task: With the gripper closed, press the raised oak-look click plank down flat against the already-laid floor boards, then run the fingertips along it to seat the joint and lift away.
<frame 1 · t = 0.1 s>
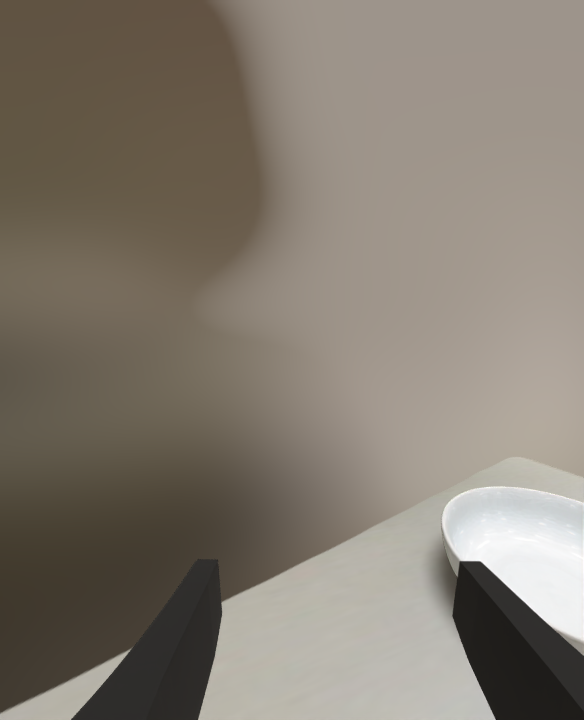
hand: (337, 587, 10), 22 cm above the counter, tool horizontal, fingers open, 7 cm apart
serving bowl: (552, 608, 32), on the counter
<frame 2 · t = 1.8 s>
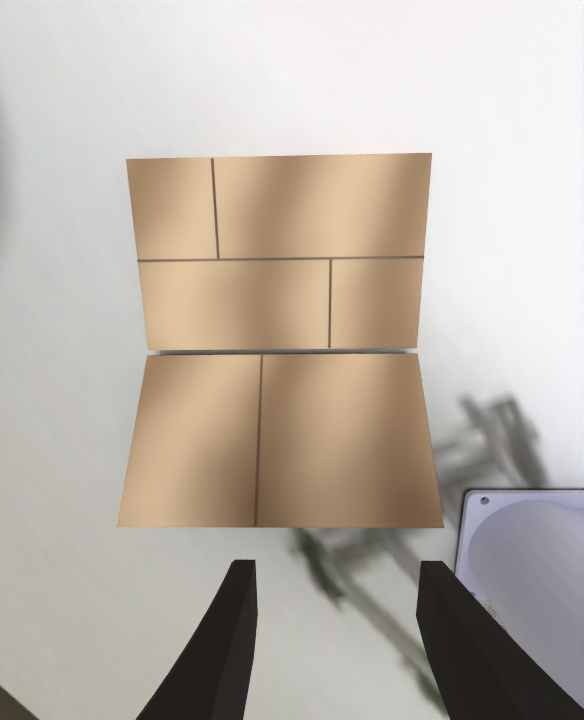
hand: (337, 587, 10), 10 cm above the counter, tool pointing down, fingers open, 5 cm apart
click plank: (280, 434, 16), point 3 cm above the counter, hinge at 35.0°
laid floor boards: (280, 260, 17), on the counter
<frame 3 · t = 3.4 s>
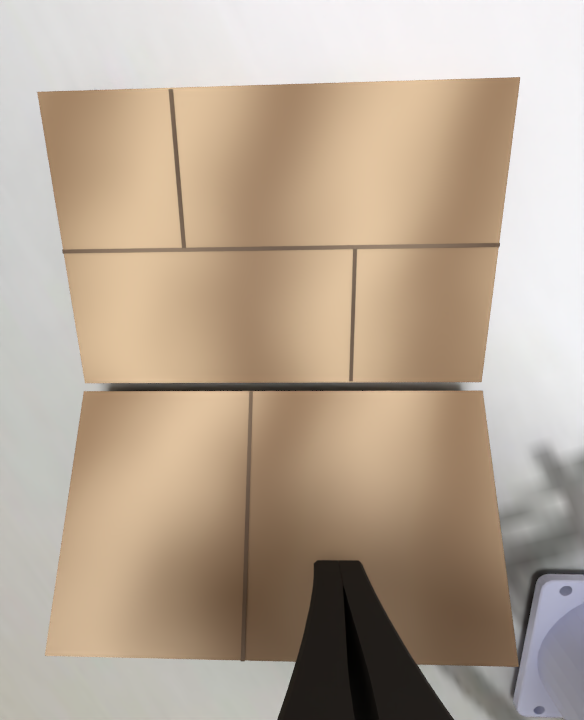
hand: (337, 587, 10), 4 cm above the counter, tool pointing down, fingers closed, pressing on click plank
click plank: (279, 510, 11), point 3 cm above the counter, hinge at 26.1°, touching gripper
laid floor boards: (279, 251, 12), on the counter
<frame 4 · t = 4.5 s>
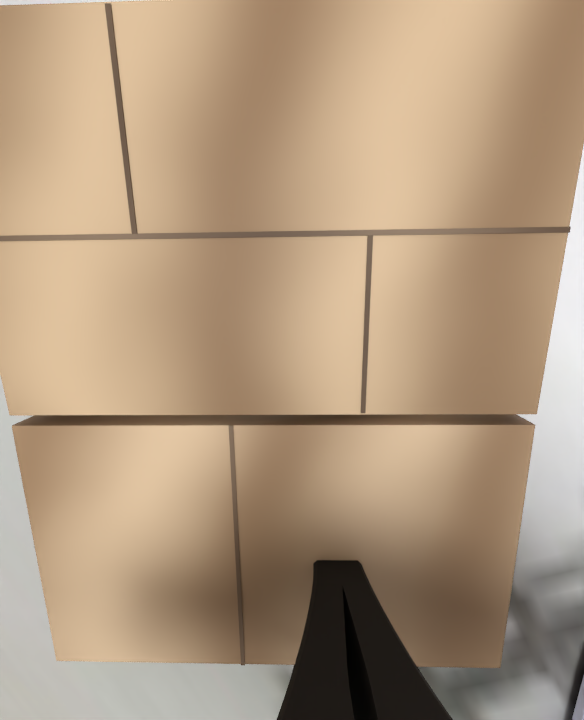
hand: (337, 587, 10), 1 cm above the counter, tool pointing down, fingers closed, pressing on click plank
click plank: (273, 539, 10), point 1 cm above the counter, hinge at 2.1°, touching gripper
laid floor boards: (267, 241, 9), on the counter
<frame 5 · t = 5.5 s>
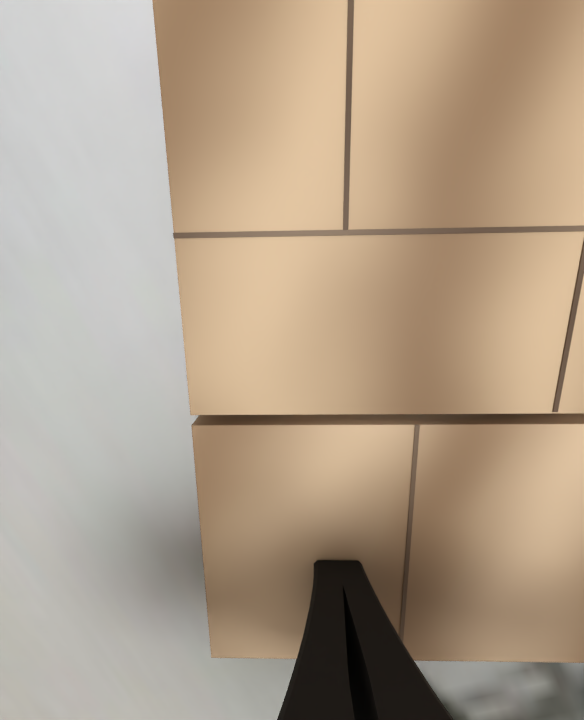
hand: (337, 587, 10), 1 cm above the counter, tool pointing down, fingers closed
click plank: (434, 538, 10), point 1 cm above the counter, hinge at 0.9°
laid floor boards: (452, 237, 9), on the counter
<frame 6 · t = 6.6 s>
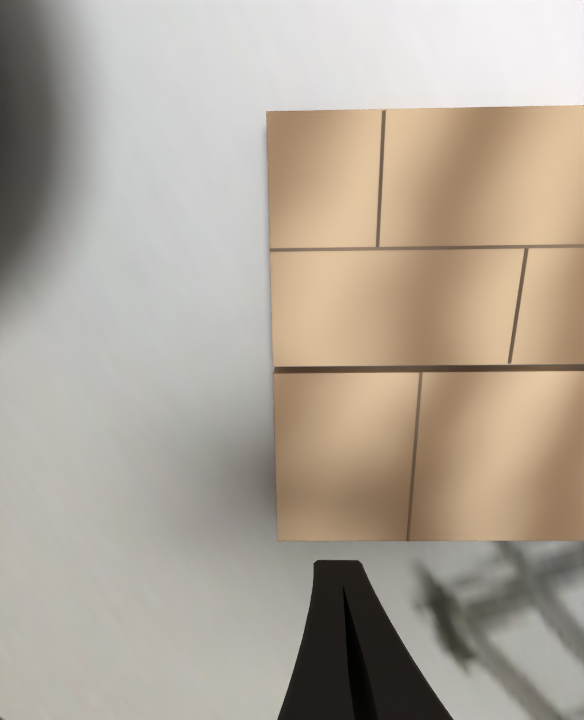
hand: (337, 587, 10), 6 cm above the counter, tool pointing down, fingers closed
click plank: (431, 454, 15), point 1 cm above the counter, hinge at 0.9°
laid floor boards: (444, 250, 13), on the counter
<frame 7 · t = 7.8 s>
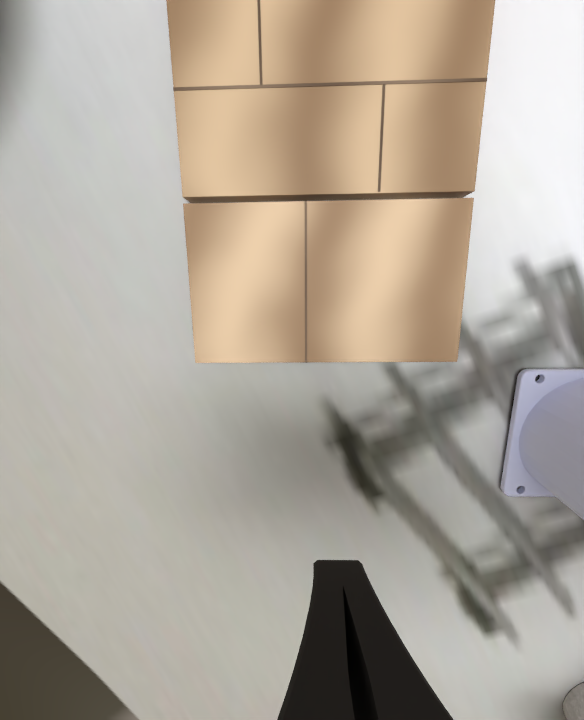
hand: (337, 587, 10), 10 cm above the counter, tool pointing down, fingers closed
click plank: (324, 285, 17), point 1 cm above the counter, hinge at 0.9°
laid floor boards: (325, 99, 16), on the counter
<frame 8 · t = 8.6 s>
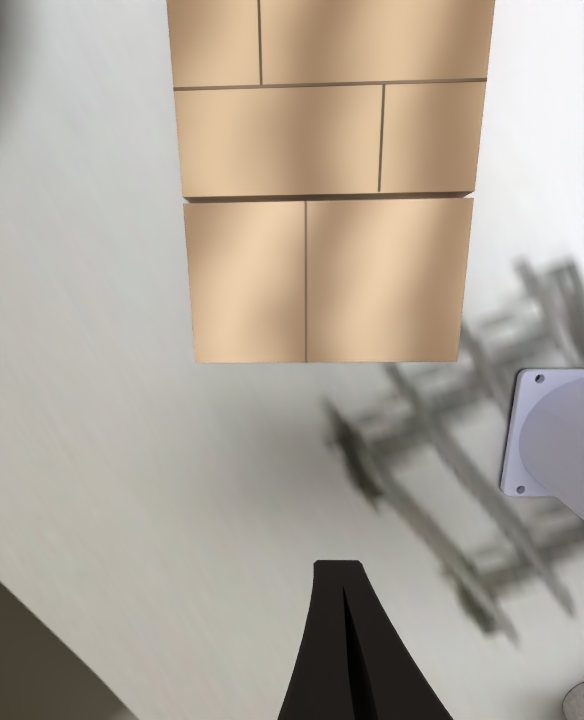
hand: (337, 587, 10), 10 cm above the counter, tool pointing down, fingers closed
click plank: (324, 285, 17), point 1 cm above the counter, hinge at 0.9°
laid floor boards: (325, 99, 16), on the counter
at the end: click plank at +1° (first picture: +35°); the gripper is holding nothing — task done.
